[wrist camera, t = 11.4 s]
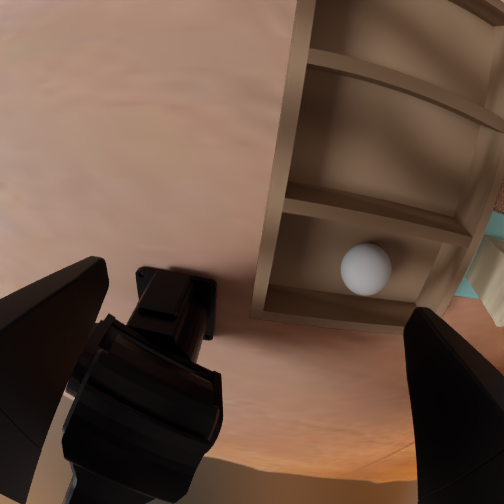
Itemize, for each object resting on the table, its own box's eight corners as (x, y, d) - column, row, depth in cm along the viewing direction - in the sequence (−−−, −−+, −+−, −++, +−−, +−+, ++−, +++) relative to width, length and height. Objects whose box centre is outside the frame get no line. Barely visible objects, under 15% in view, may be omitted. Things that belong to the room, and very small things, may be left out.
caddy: (417, 307, 23) (429, 336, 20) (253, 286, 23) (249, 317, 20) (498, 23, 10) (527, 20, 7) (304, -53, 10) (308, -77, 7)
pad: (494, 298, 22) (496, 300, 21) (435, 290, 22) (437, 293, 21) (530, 224, 17) (533, 226, 17) (473, 203, 17) (476, 205, 17)
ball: (374, 278, 21) (386, 308, 18) (331, 272, 21) (338, 303, 18) (389, 238, 19) (405, 265, 16) (344, 229, 19) (354, 257, 16)
